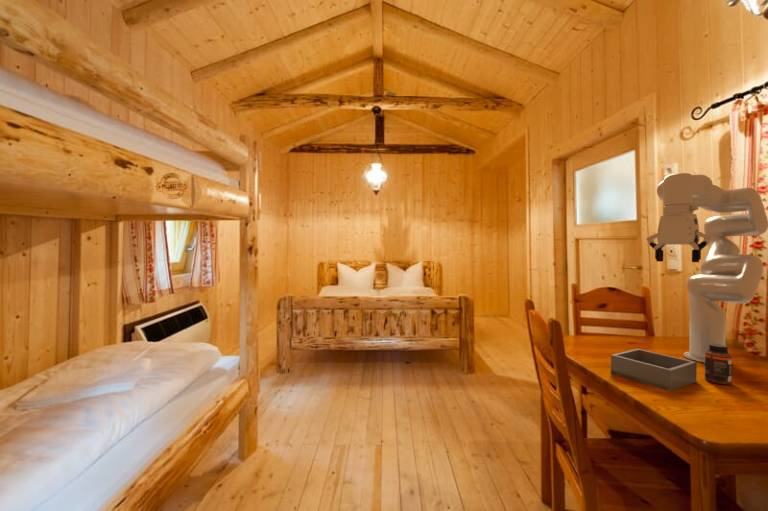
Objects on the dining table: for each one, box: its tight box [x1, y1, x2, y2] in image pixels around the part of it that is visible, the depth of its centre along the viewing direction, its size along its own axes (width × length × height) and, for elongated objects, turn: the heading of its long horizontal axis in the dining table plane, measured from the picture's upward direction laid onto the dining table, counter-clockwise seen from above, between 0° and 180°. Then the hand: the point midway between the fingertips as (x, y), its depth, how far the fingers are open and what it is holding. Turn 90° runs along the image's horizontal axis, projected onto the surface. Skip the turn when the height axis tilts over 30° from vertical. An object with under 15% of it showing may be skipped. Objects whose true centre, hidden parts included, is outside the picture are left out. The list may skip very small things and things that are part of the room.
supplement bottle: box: [704, 344, 733, 386], centre depth 101 cm, size 6×6×11 cm
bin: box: [610, 348, 698, 392], centre depth 105 cm, size 16×16×6 cm
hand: (676, 261), depth 111 cm, fingers open, 9 cm apart
